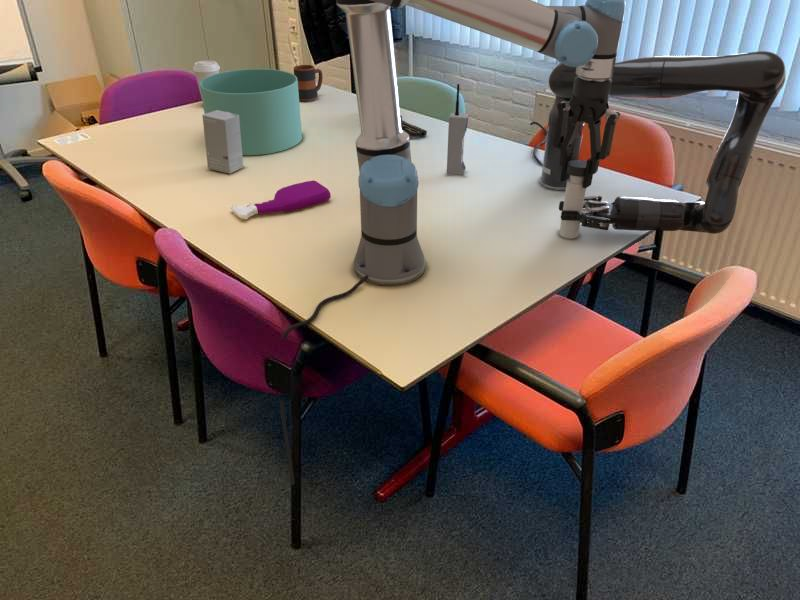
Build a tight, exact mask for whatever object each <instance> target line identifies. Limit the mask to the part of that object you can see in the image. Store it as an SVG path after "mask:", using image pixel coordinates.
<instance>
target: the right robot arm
mask: <svg viewBox="0 0 800 600" xmlns="http://www.w3.org/2000/svg"><path fill="white" fill-rule="evenodd" d="M786 73H787V72H786V64H785V62H784V59H782V57H781V56H779V55H778V54H776V53H774V52H772V51H767V50H760V51H751V52H743V53H735V54H734V53H733V54H728V55H727V54H726V55H717V56H716V55H715V56H704V55H703V56H701V55H689V56H688V55H683V56H681V55H680V56H679V55H678V56H677V55H676V56H675V55H674V56H673V55H671V56H670V55H663V56H645V57H638V58H634V59H633V58H632V59H628V60H624V61H619V62H615V68H614V74H613V76H612V77H611V78H610V79H611V80H612V84H611V89H610V95H609V97H617V98H637V99H639V98H640V99H672V98H679V97H685V96H689V95H693V94H697V93H702V92H706V91H708V92H709V91H724V92H725V91H726V92H738V94H737V100H736V107H735V110H734V113H733V116H732V118H731V122H730V124H729V126H728V129H727V130H726V132H725V135H724V136H723V138H722V140H721V142H720V144H719V145H718V148H717V150H716V152H715V155H714V157H713V160H712V163H711V166H710V169H709V171H708V175H707V178H706V181H705V186H706V187H707V194H706V198H705V200H704V201H679V200H675V199H673V200H672V199H656V198H650V197H634V196H617V197H616V198H615V199H614V201H613V202H611V201H605V200H603V196H601V195H591V196H585V197H584V203H583V209H582V211H579V213H578V211H571V210H563V206H564V200H560V201H559V203H558V210H559V211H560V220H569V221H578V222H579V223H580V227H584V228H591V229H596V230H601V231H609V227H610V225H611V226H612V228H613V229H614V230H617V231H638V232H639V231H640V232H649V231H656V232H657V231H658V232H659V231H661V232H676V231H684V232H694V233H695V232H697V233H698V232H699V233H706V234H712V235H716V234H721V233H722V232H725V231H726V230H727V229H728V228H729V226H730V225H731V223H732V221H733V219H734V217H735V214H736V209H737V204H738V197H739V190H740V187H741V184H742V181H743V179H744V176H745V173H746V171H747V168H748V165H749V162H750V159H751V156H752V154H753V150H754V147H755V143H756V142H757V141H756V140H757V139H758V135H759V133H760V130H761V127H762V125H763V124H764V121H765V119H766V117H767V115H768V113H769V111H770V109H771V107H772V106H773V104H774V102H775V100H776V99H777V97H778V95H779V94H780V92H781V90H782V89H783V87H784V85H785V82H786V75H787V74H786ZM576 76H578V75H577V74H576V67H569V66H567V65H564V64H561V63H560V62H559V63H558V64H557V65H556V66H555V67H554V68H553V69H552V71H551V72H550V74H549V77H548V86H549V89H550V91H551V92H552V93H553V94H554V95H555V98H554V101H553V104H552V107H551V108H550V110H549V114H548V120H547V121H548V122H547V129H546V128H545V127H544V126H543V125H542V124H541V123H540V122H537V121H532V122H531V123H530V124H529V125H530V126H533V125H537V126H538V127H539V128H540V129H542V130H543V132H544V134H545V136H544V138H543V140H541V141H540V142H538V143H537V144H536V145H535V146H534V148H533V151H532V155H533V156H532V157H533V158H534V160H535V161H536V162H537V164H538V165H540V166H542V169H541V175H540V180H539V181H540V185H541V186H542V187H544V188H547V189H549V190H555V191H566V185H567V180H568V179H567V180H565V181H564V182H562V181H560V179H561V173H562V165H560V156H561V150H560V149H559V148H555V147H554V140H555V133H556V127H557V120H558V108H557V104H558V103H560V102H562V101H570V99H571V98H572V96H573V93H572V92H573V86H574V79H575V77H576ZM573 115H574V114H573V112H572V110H571V107H570V110H569V114H568V121H567V127H566V133H565V137H566V135H567V132H568V130H569V127H570V125H571V120H572V118H573ZM585 123H586V122H582V123H581V124H580V127H579V129H578V132H577V134H576V136H575V139H574V141H573V144H572V146H571V147H572V148H571V149H569V151H570V150H571V151H573V157H572V160H580V155H581V154H580V153H581V147H582V141H583V134H584V128H585ZM544 143H545V145H544V153H543V159H542V160H543V161H542V162H541V160H540V159H539V158H538V156H537V154H536V152H537V149H538V148H539V147H540V146H542V145H543V144H544ZM569 178H570V175H569Z"/></svg>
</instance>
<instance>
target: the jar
mask: <svg viewBox="0 0 800 600" xmlns="http://www.w3.org/2000/svg"><path fill="white" fill-rule="evenodd" d="M583 181H584V176H583V177H577V176H572V175H570V178H569V179H568V180H567V185H566V190H565V192H564V193H565V194H564V200H563V201H564V206H563V210H571V211H578V213H579V211H582V209H584V208H583V203H584V197H586V190H587V188H582V187H583ZM560 220H561V219H560ZM580 227H581V223H579V222H578V221H569V220H561V221H560V226H559V236H560V237H562V238H564V239H569V240H571V239H572V240H573V239H576V238H578V237H579V234H580Z"/></svg>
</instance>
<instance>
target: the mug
mask: <svg viewBox="0 0 800 600" xmlns="http://www.w3.org/2000/svg"><path fill="white" fill-rule="evenodd" d="M316 74H318V80H317V83H316V79H317V77H316ZM293 75H295V76H296V77H297V81H298V92H299V102H314V101H316V100H317V99H318V92H319V91H320V90H321V88H322V85H323V79H324V78H323V77H324V76H323V71H322V70H321V69H320V68H315V66H314V65H312V64H299V65H295V66H294V67H293Z"/></svg>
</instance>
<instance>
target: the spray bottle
mask: <svg viewBox="0 0 800 600" xmlns="http://www.w3.org/2000/svg"><path fill="white" fill-rule="evenodd" d="M331 198H332V196H331V192H330V189H328V188H327V187H326V186H325V185H323V184H321V183H320V182H318V181H317V180H314V179H313V180H306V181H303V182H298V183H293V184H291V185H287V186H283V187H281V188H279V189H278V190H276V192H275V194H274V197H273V199H271V200H267V201H263V202H261V203H254V204H253V205H251V203H250V202H248V203H247V204H244V205H242V206H240V205H239V206H238V205H237V206H234V205H230V206H229V208H230V210H231V212H232V213H233V214H235V216H237V217H238V218H240V219H243V220H248V219H249V218H250V217H252V216H254V215H257V214H258V215H264V214H274V213H290V212H295V211H301V210H304V209H307V208H310V207H313V206H316V205H320V204H323V203H326V202H328V201H329V200H330V199H331Z"/></svg>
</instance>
